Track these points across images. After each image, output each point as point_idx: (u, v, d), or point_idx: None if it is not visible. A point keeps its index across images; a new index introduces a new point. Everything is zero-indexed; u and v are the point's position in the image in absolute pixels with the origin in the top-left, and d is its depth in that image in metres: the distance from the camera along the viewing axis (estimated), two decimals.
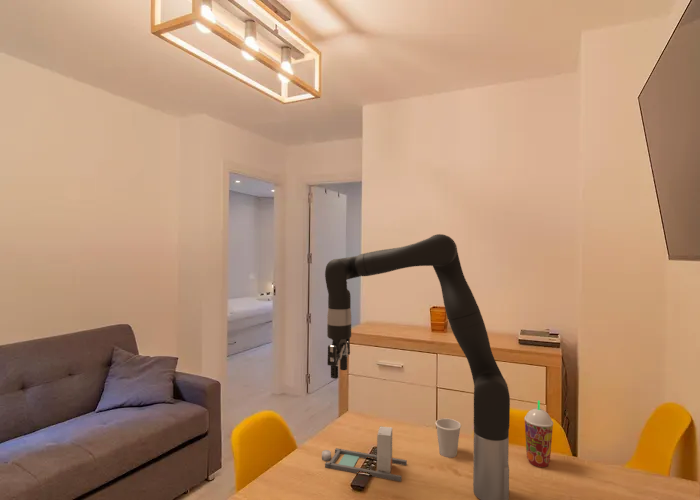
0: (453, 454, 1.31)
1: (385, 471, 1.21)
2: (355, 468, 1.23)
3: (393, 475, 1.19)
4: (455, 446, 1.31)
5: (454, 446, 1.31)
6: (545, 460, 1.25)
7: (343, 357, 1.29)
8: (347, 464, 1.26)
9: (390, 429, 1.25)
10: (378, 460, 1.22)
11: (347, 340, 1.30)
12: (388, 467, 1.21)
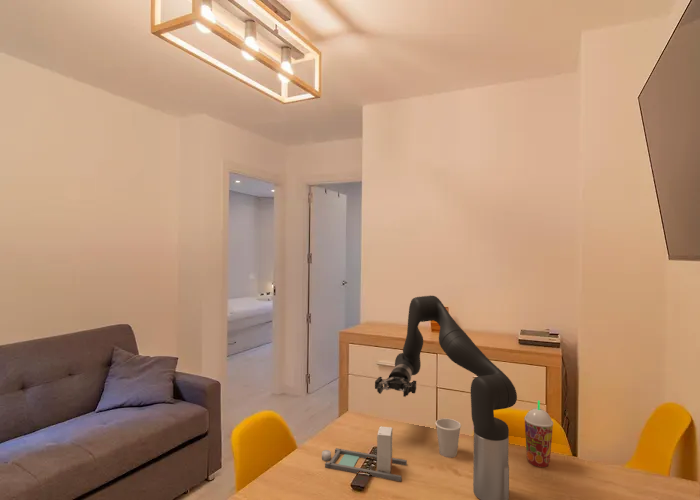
0: (453, 454, 1.31)
1: (385, 471, 1.21)
2: (355, 468, 1.23)
3: (393, 475, 1.19)
4: (455, 446, 1.31)
5: (454, 446, 1.31)
6: (545, 460, 1.25)
7: None
8: (347, 464, 1.26)
9: (390, 429, 1.25)
10: (378, 460, 1.22)
11: None
12: (388, 467, 1.21)
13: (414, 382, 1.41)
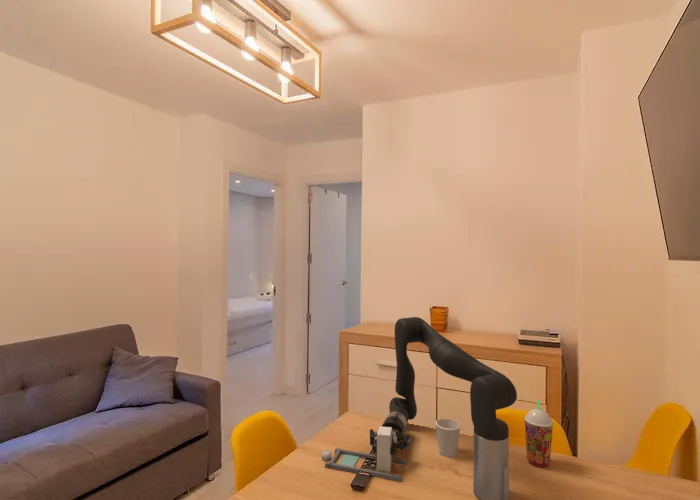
0: (453, 454, 1.31)
1: (385, 471, 1.21)
2: (355, 468, 1.23)
3: (393, 475, 1.19)
4: (455, 446, 1.31)
5: (454, 446, 1.31)
6: (545, 460, 1.25)
7: None
8: (347, 464, 1.26)
9: (390, 429, 1.25)
10: (378, 460, 1.22)
11: None
12: (388, 467, 1.21)
13: (406, 437, 1.28)
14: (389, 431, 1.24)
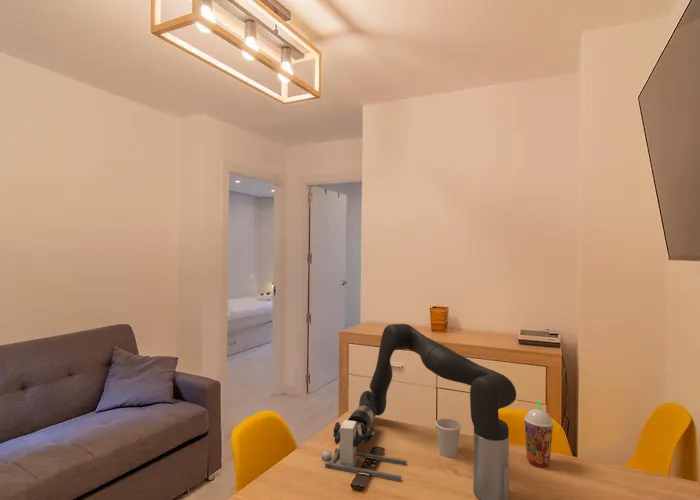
0: (453, 454, 1.31)
1: (347, 463, 1.25)
2: (355, 468, 1.23)
3: (393, 475, 1.19)
4: (455, 446, 1.31)
5: (454, 446, 1.31)
6: (545, 460, 1.25)
7: None
8: None
9: (354, 422, 1.29)
10: (341, 452, 1.26)
11: None
12: (350, 459, 1.25)
13: (370, 430, 1.32)
14: (353, 425, 1.28)
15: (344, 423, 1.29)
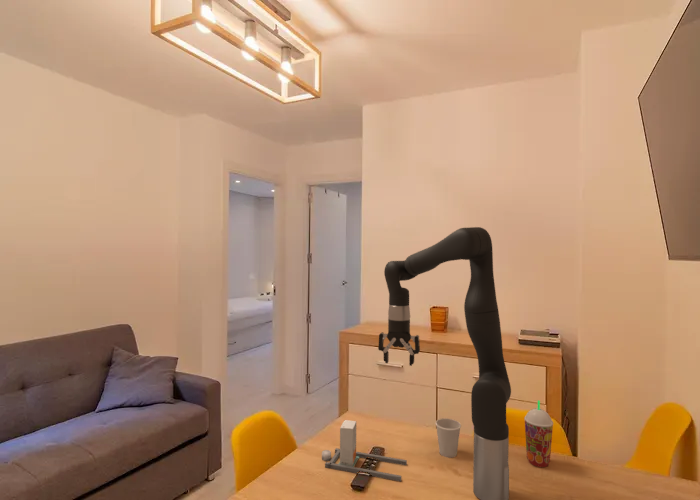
0: (453, 454, 1.31)
1: (347, 463, 1.25)
2: (355, 468, 1.23)
3: (393, 475, 1.19)
4: (455, 446, 1.31)
5: (454, 446, 1.31)
6: (545, 460, 1.25)
7: (410, 353, 1.39)
8: None
9: (354, 422, 1.29)
10: (341, 452, 1.26)
11: (414, 339, 1.37)
12: (350, 459, 1.25)
13: (416, 342, 1.37)
14: (353, 425, 1.28)
15: (344, 423, 1.29)
